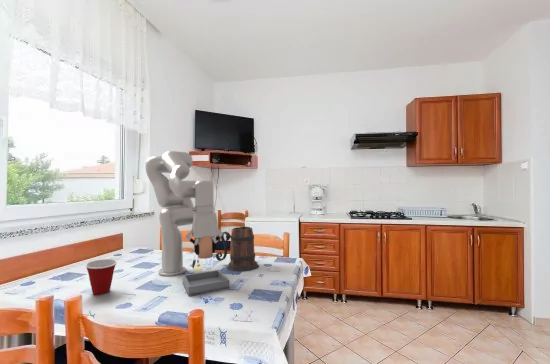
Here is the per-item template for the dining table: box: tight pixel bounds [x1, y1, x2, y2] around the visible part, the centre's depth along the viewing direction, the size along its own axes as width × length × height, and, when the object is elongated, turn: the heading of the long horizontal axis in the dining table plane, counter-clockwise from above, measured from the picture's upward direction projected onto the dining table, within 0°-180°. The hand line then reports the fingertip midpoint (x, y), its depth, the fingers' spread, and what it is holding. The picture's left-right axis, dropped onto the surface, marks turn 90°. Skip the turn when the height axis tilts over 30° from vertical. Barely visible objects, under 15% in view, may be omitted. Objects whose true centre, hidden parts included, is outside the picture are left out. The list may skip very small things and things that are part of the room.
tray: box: [181, 269, 230, 297], centre depth 115 cm, size 16×16×4 cm
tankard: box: [215, 226, 260, 273], centre depth 143 cm, size 24×17×20 cm
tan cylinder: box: [197, 236, 214, 260], centre depth 115 cm, size 6×6×9 cm
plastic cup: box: [84, 258, 118, 296], centre depth 109 cm, size 11×11×12 cm
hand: (205, 252), depth 115 cm, fingers closed on tan cylinder, 6 cm apart
